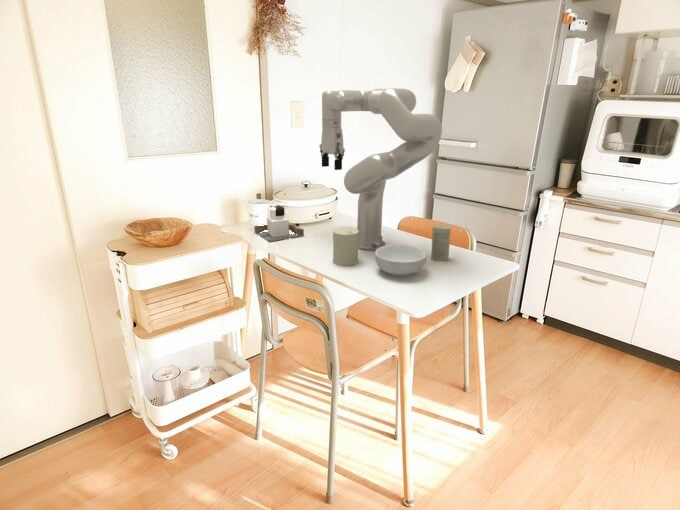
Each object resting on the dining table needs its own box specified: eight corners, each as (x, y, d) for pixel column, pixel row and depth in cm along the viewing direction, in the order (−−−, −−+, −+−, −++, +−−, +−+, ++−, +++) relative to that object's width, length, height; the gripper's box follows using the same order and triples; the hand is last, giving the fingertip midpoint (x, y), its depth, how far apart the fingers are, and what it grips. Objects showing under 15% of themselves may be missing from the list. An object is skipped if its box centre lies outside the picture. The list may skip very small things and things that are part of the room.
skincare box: (448, 257, 163) (451, 225, 159) (448, 261, 159) (451, 229, 155) (431, 255, 165) (433, 224, 161) (430, 259, 161) (432, 227, 157)
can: (342, 268, 153) (343, 235, 148) (327, 260, 160) (327, 228, 155) (363, 262, 158) (364, 230, 154) (347, 255, 165) (348, 224, 161)
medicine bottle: (283, 231, 192) (282, 204, 187) (289, 235, 186) (288, 207, 182) (267, 233, 188) (266, 206, 184) (272, 237, 183) (271, 209, 178)
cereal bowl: (364, 272, 149) (365, 252, 147) (393, 259, 161) (394, 241, 158) (406, 286, 139) (407, 265, 136) (433, 271, 150) (435, 252, 148)
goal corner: (303, 236, 186) (303, 229, 185) (269, 242, 178) (269, 235, 177) (287, 227, 198) (286, 220, 197) (254, 232, 190) (254, 226, 189)
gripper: (352, 125, 168) (351, 170, 174) (328, 122, 182) (328, 164, 188) (335, 126, 164) (335, 171, 170) (312, 123, 178) (313, 166, 184)
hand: (331, 168), depth 179 cm, fingers open, 9 cm apart
